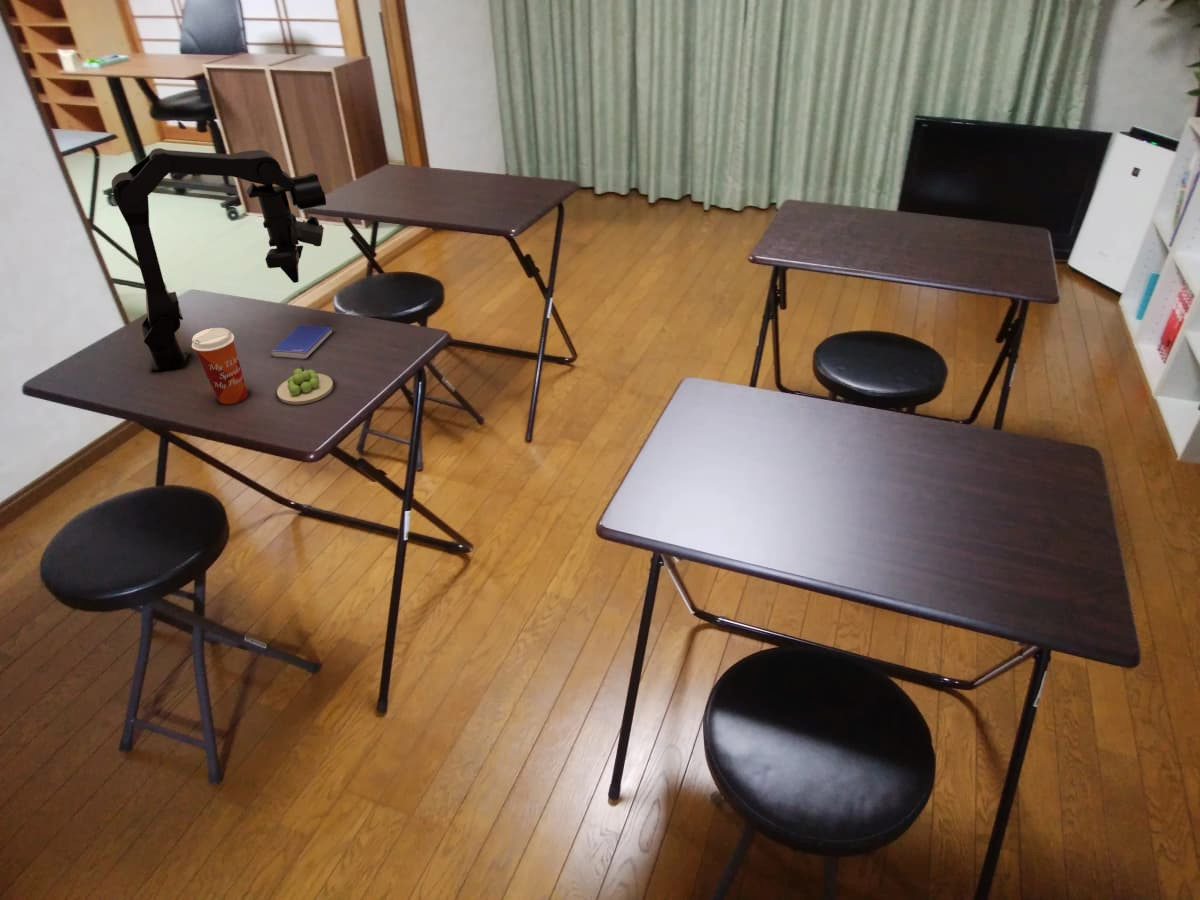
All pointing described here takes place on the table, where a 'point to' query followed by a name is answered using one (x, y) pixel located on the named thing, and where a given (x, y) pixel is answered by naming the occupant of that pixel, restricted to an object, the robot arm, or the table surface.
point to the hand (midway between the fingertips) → (296, 282)
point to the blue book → (302, 342)
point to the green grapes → (302, 381)
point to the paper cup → (221, 364)
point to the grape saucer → (306, 397)
